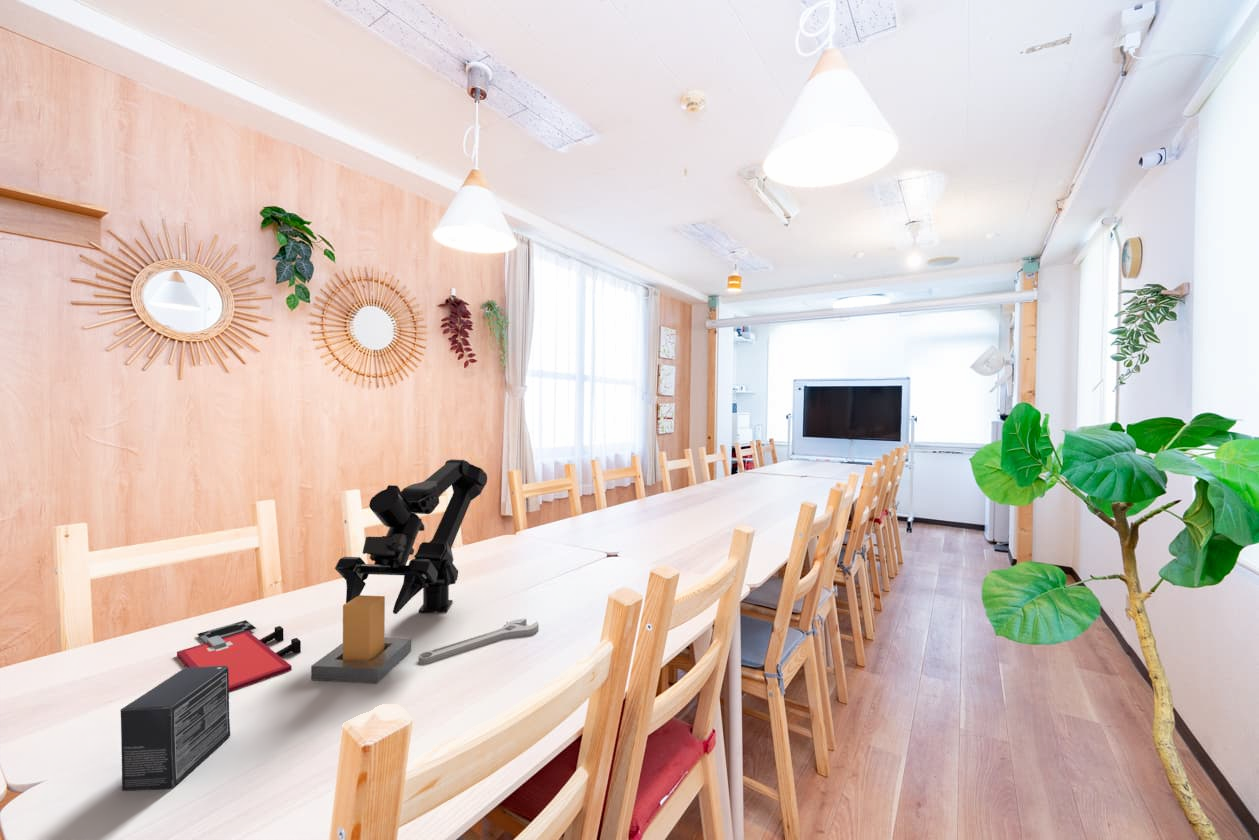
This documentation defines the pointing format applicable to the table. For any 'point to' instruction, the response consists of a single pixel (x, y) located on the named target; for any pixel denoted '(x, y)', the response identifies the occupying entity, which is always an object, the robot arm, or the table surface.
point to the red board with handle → (240, 653)
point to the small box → (174, 728)
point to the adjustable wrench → (480, 640)
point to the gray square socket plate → (361, 663)
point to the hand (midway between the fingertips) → (370, 612)
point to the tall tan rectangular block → (363, 628)
